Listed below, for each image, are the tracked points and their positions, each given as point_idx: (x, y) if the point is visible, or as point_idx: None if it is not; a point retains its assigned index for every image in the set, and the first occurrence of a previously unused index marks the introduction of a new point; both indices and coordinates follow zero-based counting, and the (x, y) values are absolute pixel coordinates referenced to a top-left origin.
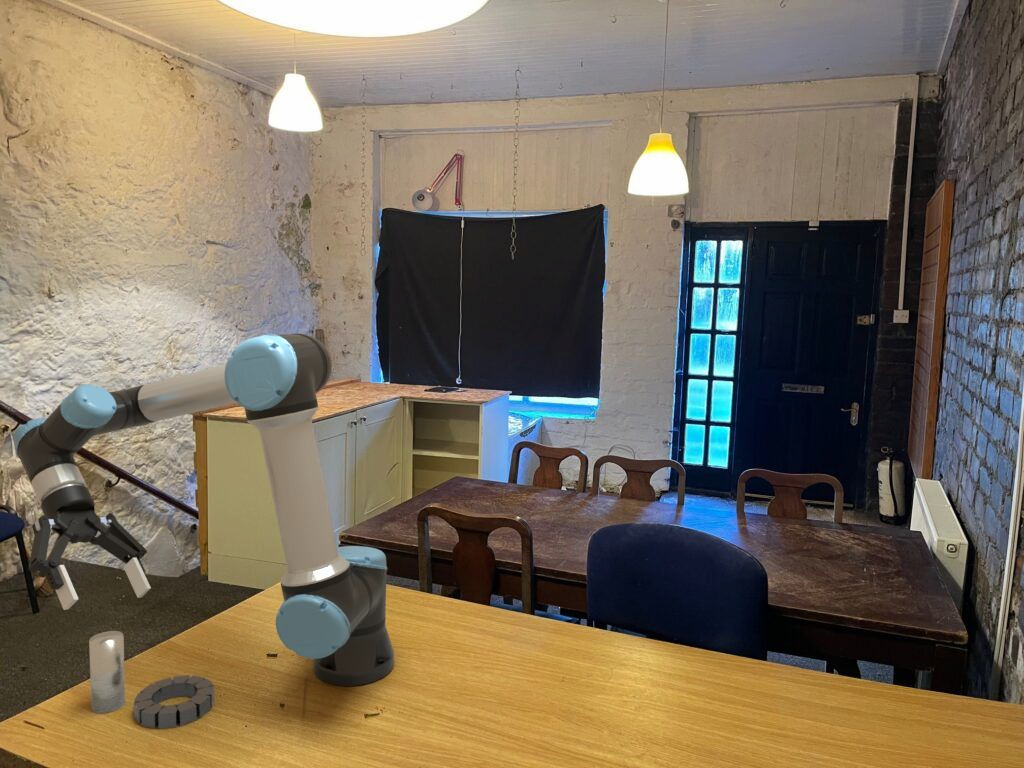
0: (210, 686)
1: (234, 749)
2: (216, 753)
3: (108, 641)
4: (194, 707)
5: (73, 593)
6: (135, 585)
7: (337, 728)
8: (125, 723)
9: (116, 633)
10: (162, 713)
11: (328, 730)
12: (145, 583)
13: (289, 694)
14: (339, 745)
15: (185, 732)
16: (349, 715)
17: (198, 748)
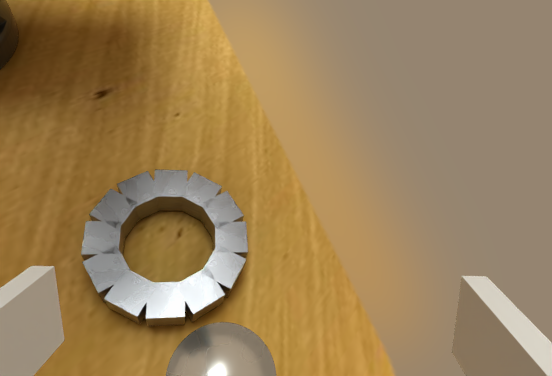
0: (117, 192)
1: (236, 102)
2: (253, 117)
3: (242, 345)
4: (197, 175)
5: (493, 294)
6: (23, 361)
7: (143, 13)
8: (244, 303)
9: (182, 373)
10: (237, 211)
11: (151, 20)
12: (30, 282)
13: (63, 97)
14: (179, 2)
15: (227, 185)
16: (106, 8)
17: (253, 144)
